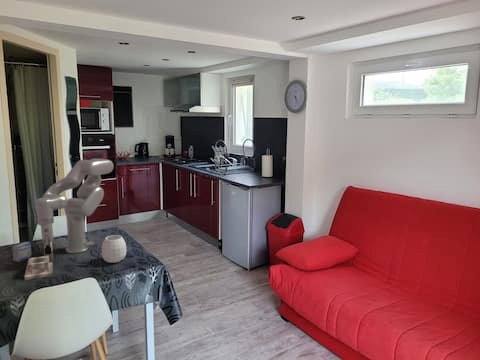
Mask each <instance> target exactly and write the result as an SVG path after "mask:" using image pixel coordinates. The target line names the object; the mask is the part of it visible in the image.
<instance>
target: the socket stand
mask: <svg viewBox="0 0 480 360" xmlns="http://www.w3.org/2000/svg"><path fill="white" fill-rule="evenodd" d="M53 262H54V261H53ZM53 262H50V263H49V256H45V255H44V256H38V257H36V256H35V257H30V258H28V260H27V265H26V269H25V273H24V280H25V281H28V280H35V279H42V278H46V277H52V276H53V268H54V267H53V266H54V265H53V264H54V263H53Z"/></svg>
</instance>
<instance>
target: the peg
mask: <svg viewBox="0 0 480 360" xmlns="http://www.w3.org/2000/svg"><path fill="white" fill-rule="evenodd" d="M45 242H46V241H45ZM45 242H44V243H43V253H44V256H49V263H51V262H54V252H53V242H50V244H51V250H52V254H47V255H45ZM48 242H49V241H48Z"/></svg>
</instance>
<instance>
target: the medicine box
mask: <svg viewBox="0 0 480 360" xmlns="http://www.w3.org/2000/svg"><path fill="white" fill-rule="evenodd" d="M11 248H12V249H11V250H12V256H13V257H12V258H13V261H14V262H18V263H20V262H22V261H25V260H27V259H28V260H29V258H33V257H32V255H33V254H32V245H31V242H29V241H23V242H21V243H18V244H15V245H12V246H11Z"/></svg>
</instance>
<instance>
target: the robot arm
mask: <svg viewBox="0 0 480 360" xmlns="http://www.w3.org/2000/svg"><path fill="white" fill-rule="evenodd" d="M113 170H114V162H113V161H112V160H110V159H105V158H104V159H103V158H95V157H94V158H91V159H90V160H89V159H88V160H87V159H80V160H77V162H76V163H75V164H74V165H73V167H72V168H71V169H70V170H69V172H68V173H67V175H65V177H63V178H62V179H60V180H58V181H57V182H55V183H53V184H52V185H51V186H50V187H49V188H48V189H47V190H46V191H45V193H44V194H43V195H42V197H41V198H37V199H35V207H36V215H37V224H38V226H40V232H41V237H42V238H41V239H42V243H43V244H44V242H45V241H46V242H45V254H44V256H45V255H47V254H52V250H51V244H50V242H52V243H54V229H53V224H54V223H55V222H54V221H55V219H54V211H55V210H56V211H57V210H63V209H64V213H65V218H66V226H67V227H66V228H67V242H68V246H67V247H66V248H65V252H66V253H68V254H80V253H83V252H87V251H88V250H89V248H90V246H95V242H94V241H87V239H86V224H85V217H90V216H91V215H93V213H94V212H95V211H96V209H97V208H98V207H99V205H100V203H101V202H102V201H103V199H104V195H105V192H104V188H102V187H101V183H102V176H101V175H107V174H110V173H111V172H113ZM86 176H87V178H86V179H85V177H86ZM84 179H85V181H83V180H84ZM82 181H83V183H82ZM81 183H82V184H81ZM80 184H81V186H80ZM78 187H79V188H78ZM75 188H78V190H77V192H76V196H77V197H71V198H67V197H66V196H64V195H60V194H62V193H63V192H65V191H69V190H72V189H75ZM48 241H49V242H48Z"/></svg>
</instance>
